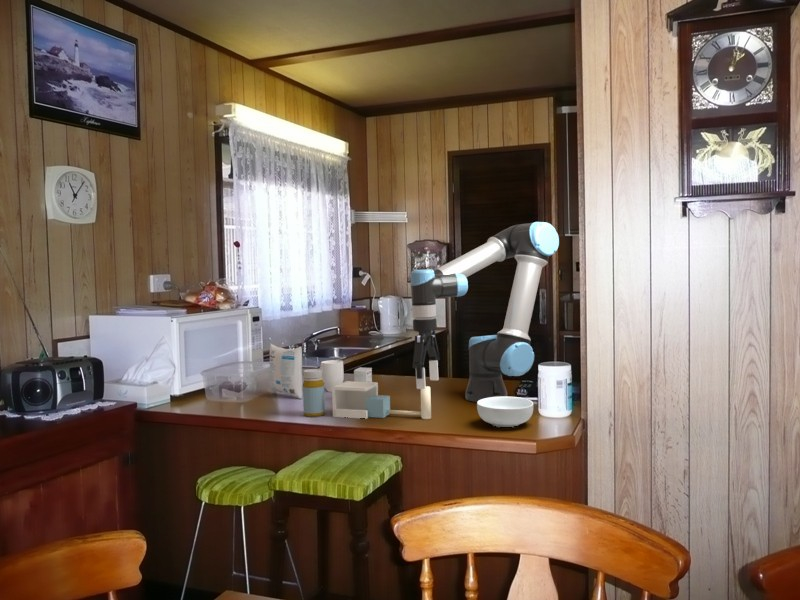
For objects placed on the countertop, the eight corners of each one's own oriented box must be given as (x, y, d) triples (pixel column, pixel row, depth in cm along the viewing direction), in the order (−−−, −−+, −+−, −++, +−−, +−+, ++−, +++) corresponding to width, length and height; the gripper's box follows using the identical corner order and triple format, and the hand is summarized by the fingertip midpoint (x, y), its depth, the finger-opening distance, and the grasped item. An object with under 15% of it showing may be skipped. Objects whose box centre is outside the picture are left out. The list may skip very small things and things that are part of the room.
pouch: (292, 401, 237) (290, 347, 236) (264, 394, 251) (262, 344, 250) (309, 397, 243) (307, 345, 242) (281, 391, 256) (279, 342, 255)
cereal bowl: (466, 425, 193) (465, 402, 193) (499, 415, 205) (498, 394, 204) (512, 435, 181) (511, 410, 181) (544, 423, 193) (544, 400, 192)
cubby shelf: (378, 411, 215) (377, 382, 215) (366, 418, 205) (365, 388, 205) (346, 409, 219) (345, 381, 219) (332, 416, 210) (331, 386, 209)
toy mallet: (433, 416, 206) (432, 385, 205) (428, 420, 200) (427, 389, 200) (373, 412, 213) (372, 383, 213) (366, 416, 208) (365, 386, 207)
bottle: (314, 411, 218) (313, 368, 218) (329, 414, 214) (327, 369, 213) (299, 415, 213) (297, 371, 212) (313, 418, 208) (312, 372, 208)
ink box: (367, 403, 230) (366, 370, 229) (353, 403, 231) (352, 370, 230) (372, 398, 238) (371, 366, 237) (360, 398, 239) (359, 366, 238)
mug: (349, 389, 256) (347, 360, 255) (333, 394, 249) (332, 364, 248) (328, 387, 263) (327, 358, 262) (313, 391, 256) (311, 361, 255)
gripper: (425, 314, 215) (428, 376, 216) (399, 322, 192) (403, 392, 193) (446, 314, 212) (449, 376, 214) (423, 322, 189) (427, 392, 190)
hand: (427, 384), depth 203 cm, fingers open, 13 cm apart
